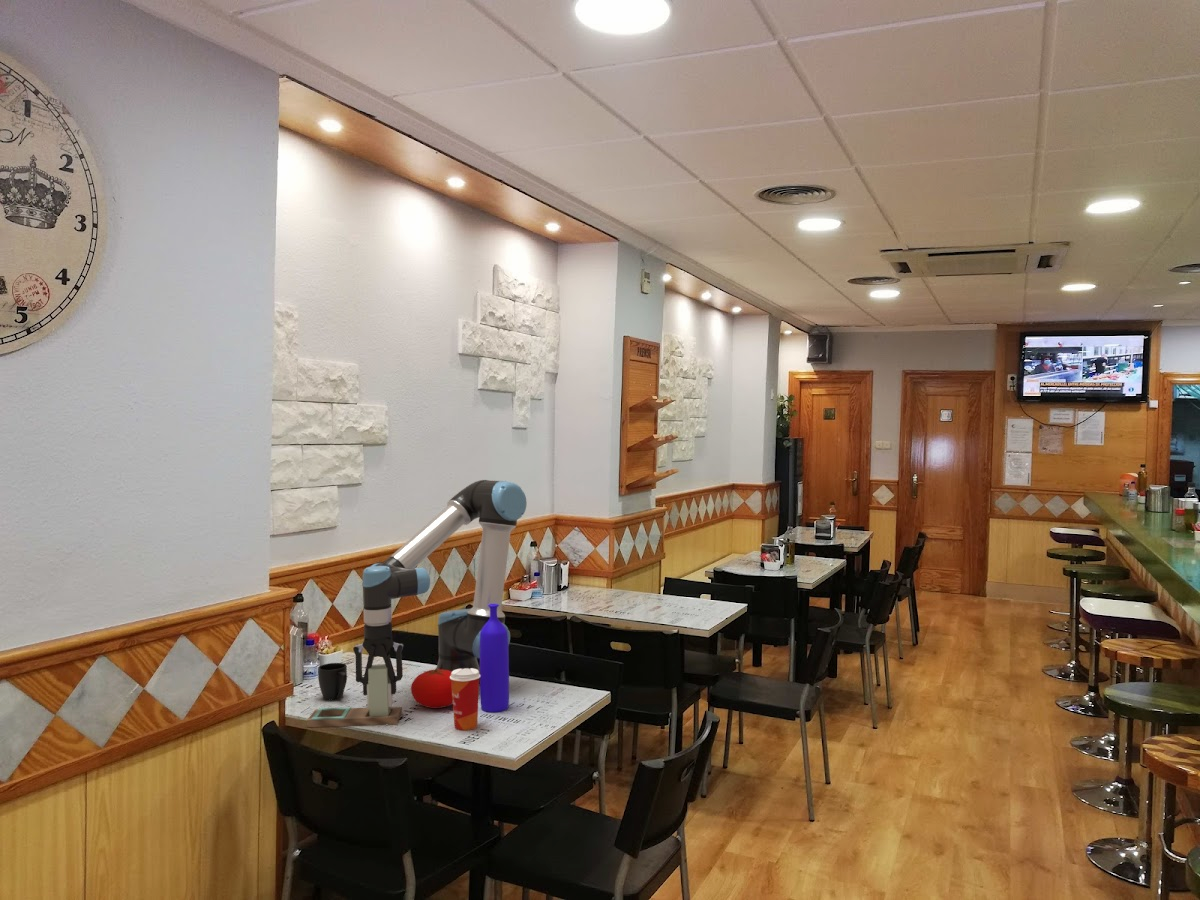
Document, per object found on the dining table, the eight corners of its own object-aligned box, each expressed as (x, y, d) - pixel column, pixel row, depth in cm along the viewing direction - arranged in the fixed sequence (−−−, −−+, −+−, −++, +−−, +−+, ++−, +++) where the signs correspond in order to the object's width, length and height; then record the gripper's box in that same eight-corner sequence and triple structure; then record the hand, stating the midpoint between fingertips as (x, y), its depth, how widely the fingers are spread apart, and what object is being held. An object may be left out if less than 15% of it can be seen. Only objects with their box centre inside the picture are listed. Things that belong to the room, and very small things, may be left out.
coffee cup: (451, 722, 243) (450, 667, 243) (481, 720, 244) (481, 666, 244) (449, 732, 235) (448, 676, 234) (480, 731, 236) (479, 675, 235)
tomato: (467, 700, 263) (467, 665, 262) (451, 714, 250) (451, 677, 250) (422, 697, 265) (422, 663, 265) (404, 711, 253) (404, 675, 253)
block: (391, 713, 249) (389, 664, 248) (388, 719, 244) (386, 669, 243) (373, 714, 248) (371, 664, 248) (369, 720, 243) (368, 669, 243)
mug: (331, 706, 257) (330, 674, 257) (314, 697, 267) (313, 666, 266) (357, 700, 263) (357, 669, 263) (339, 692, 272) (339, 661, 272)
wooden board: (402, 713, 251) (401, 705, 251) (396, 724, 242) (396, 716, 242) (315, 716, 249) (315, 708, 249) (307, 727, 240) (307, 718, 240)
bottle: (486, 714, 249) (484, 608, 248) (476, 706, 257) (474, 603, 256) (513, 709, 253) (512, 605, 252) (503, 701, 260) (501, 600, 260)
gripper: (412, 618, 249) (415, 700, 250) (347, 620, 248) (350, 702, 249) (408, 624, 242) (411, 709, 243) (341, 627, 241) (344, 711, 242)
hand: (380, 705), depth 246 cm, fingers closed on block, 5 cm apart
